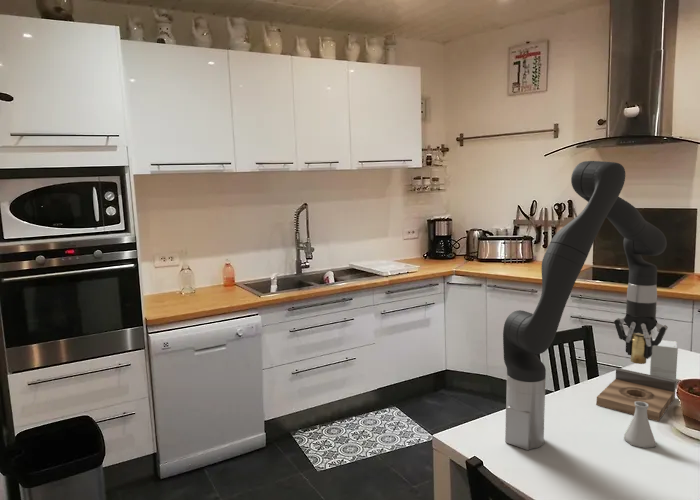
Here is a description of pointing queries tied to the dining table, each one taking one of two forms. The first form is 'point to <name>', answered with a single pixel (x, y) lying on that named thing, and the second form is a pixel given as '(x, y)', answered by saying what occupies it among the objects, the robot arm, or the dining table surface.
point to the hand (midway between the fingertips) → (638, 355)
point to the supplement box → (664, 360)
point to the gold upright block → (638, 348)
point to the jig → (638, 393)
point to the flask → (640, 428)
